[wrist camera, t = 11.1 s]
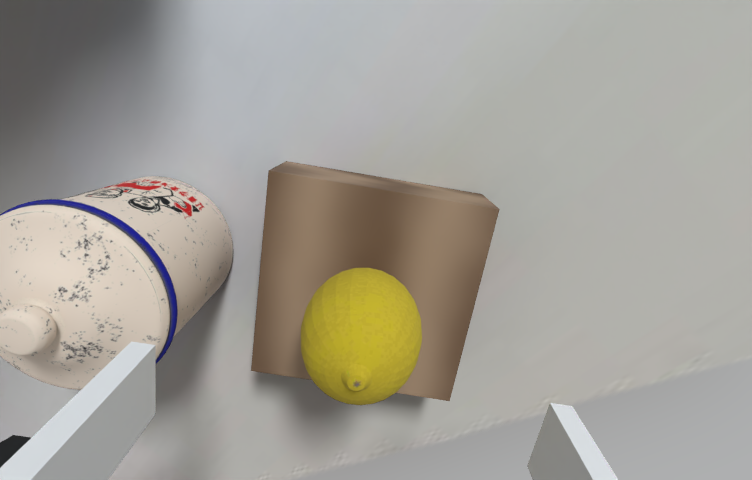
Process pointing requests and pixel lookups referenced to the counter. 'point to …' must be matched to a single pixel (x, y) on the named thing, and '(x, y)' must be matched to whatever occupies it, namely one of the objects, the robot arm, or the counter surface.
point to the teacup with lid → (105, 275)
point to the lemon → (361, 336)
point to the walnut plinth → (370, 260)
